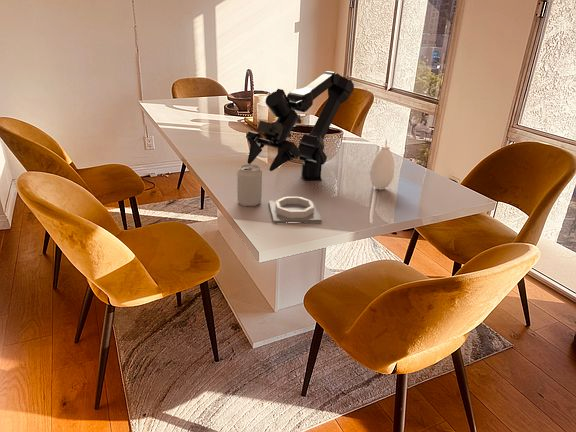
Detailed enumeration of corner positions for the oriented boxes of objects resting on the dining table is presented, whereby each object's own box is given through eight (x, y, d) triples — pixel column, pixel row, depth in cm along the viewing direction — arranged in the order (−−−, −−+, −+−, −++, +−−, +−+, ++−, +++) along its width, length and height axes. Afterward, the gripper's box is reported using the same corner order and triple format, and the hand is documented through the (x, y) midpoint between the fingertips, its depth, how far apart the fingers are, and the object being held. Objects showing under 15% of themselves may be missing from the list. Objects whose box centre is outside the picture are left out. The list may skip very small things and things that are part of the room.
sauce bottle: (381, 183, 161) (388, 134, 153) (395, 191, 155) (403, 140, 147) (363, 186, 157) (370, 136, 150) (377, 194, 151) (385, 143, 143)
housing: (312, 203, 142) (313, 194, 141) (321, 222, 130) (322, 213, 129) (268, 203, 140) (269, 195, 139) (273, 223, 128) (274, 214, 127)
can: (232, 204, 139) (232, 167, 134) (245, 196, 145) (246, 161, 140) (253, 209, 136) (253, 172, 131) (265, 201, 142) (266, 165, 137)
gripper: (249, 105, 141) (224, 146, 137) (296, 116, 130) (269, 160, 127) (266, 126, 150) (242, 164, 146) (310, 137, 139) (286, 179, 136)
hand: (259, 166), depth 139 cm, fingers open, 9 cm apart
